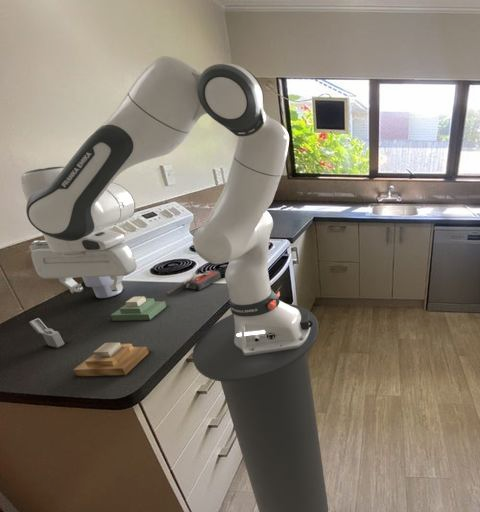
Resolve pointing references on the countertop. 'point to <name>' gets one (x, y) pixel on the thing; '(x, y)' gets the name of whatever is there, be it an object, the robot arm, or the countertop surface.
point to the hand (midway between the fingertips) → (97, 291)
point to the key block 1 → (139, 311)
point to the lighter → (47, 333)
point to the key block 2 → (112, 362)
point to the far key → (136, 301)
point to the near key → (107, 350)
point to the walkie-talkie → (199, 281)
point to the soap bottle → (101, 286)
